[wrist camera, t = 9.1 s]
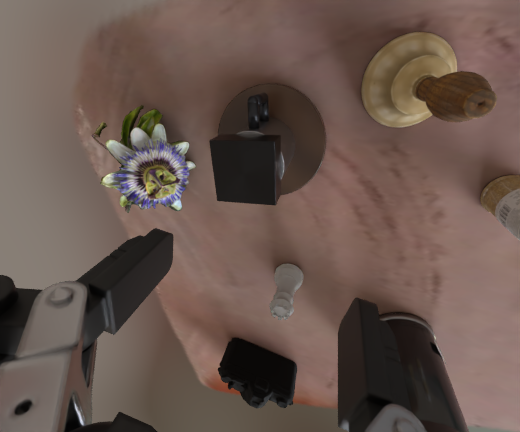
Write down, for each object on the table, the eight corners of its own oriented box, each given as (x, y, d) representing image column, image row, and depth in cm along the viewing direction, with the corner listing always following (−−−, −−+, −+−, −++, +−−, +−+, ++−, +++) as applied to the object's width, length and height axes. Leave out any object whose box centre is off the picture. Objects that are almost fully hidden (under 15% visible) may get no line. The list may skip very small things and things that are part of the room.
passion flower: (206, 152, 40) (197, 222, 35) (139, 156, 41) (120, 225, 36) (179, 88, 30) (160, 172, 25) (92, 95, 31) (56, 177, 26)
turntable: (308, 203, 34) (307, 207, 33) (216, 177, 36) (213, 180, 35) (342, 98, 28) (342, 99, 27) (227, 72, 29) (223, 72, 28)
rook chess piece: (284, 287, 42) (274, 327, 36) (270, 266, 41) (257, 305, 34) (308, 279, 40) (303, 322, 34) (295, 258, 39) (286, 297, 32)
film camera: (222, 357, 57) (204, 402, 49) (232, 332, 52) (214, 377, 44) (287, 386, 56) (279, 436, 48) (303, 363, 51) (298, 415, 43)
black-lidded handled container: (294, 171, 32) (279, 208, 23) (245, 169, 33) (214, 203, 25) (296, 90, 27) (278, 99, 19) (240, 92, 29) (200, 101, 20)
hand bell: (458, 111, 26) (593, 157, 12) (369, 137, 29) (397, 196, 15) (453, 14, 22) (629, -70, 9) (353, 55, 26) (373, 37, 12)
